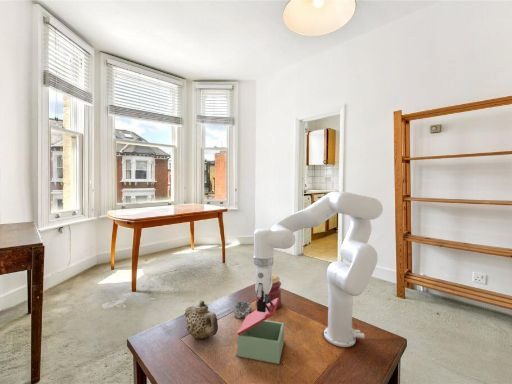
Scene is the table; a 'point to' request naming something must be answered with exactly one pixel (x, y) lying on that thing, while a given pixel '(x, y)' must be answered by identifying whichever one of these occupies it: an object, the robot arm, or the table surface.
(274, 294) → the kitchen canister
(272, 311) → the lid
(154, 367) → the table surface
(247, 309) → the egg carton
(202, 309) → the teapot
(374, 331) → the table surface
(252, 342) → the storage box
